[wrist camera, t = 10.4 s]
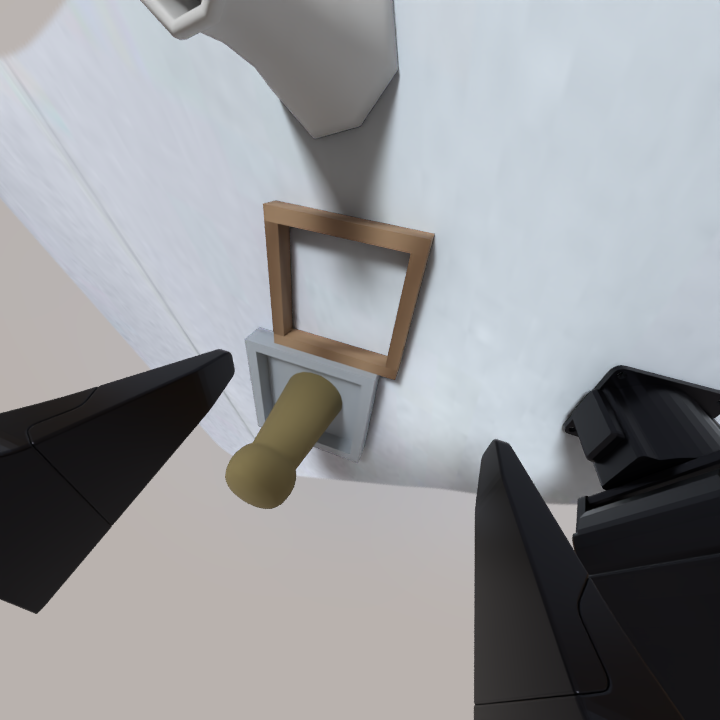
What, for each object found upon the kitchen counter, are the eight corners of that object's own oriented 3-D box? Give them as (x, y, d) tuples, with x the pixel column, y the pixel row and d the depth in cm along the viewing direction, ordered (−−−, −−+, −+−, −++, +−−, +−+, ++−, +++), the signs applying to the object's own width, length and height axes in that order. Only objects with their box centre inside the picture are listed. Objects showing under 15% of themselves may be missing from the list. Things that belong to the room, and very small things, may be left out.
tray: (381, 364, 25) (374, 379, 23) (364, 446, 32) (357, 463, 31) (259, 327, 27) (244, 339, 25) (269, 412, 34) (258, 426, 33)
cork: (323, 425, 31) (266, 527, 23) (278, 391, 31) (202, 484, 22) (354, 400, 28) (298, 510, 19) (303, 360, 27) (223, 458, 18)
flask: (354, -141, 11) (88, -748, 4) (423, 79, 14) (357, -2, 6) (239, 15, 15) (-12, -123, 7) (312, 164, 18) (187, 176, 10)
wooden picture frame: (434, 233, 18) (431, 239, 17) (398, 369, 25) (394, 380, 23) (275, 200, 20) (263, 203, 19) (283, 334, 27) (274, 342, 25)
